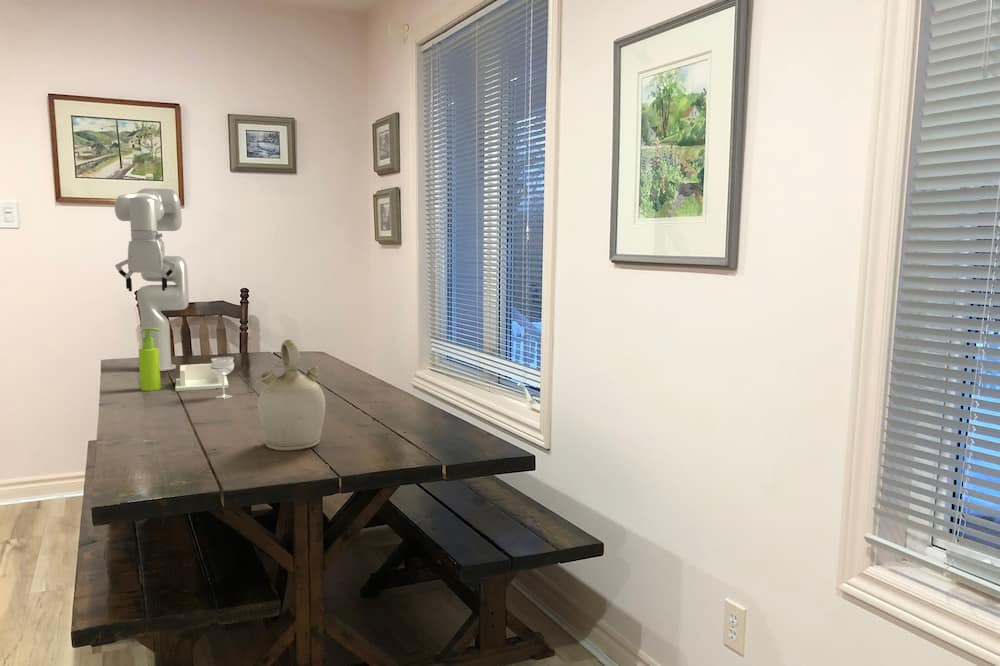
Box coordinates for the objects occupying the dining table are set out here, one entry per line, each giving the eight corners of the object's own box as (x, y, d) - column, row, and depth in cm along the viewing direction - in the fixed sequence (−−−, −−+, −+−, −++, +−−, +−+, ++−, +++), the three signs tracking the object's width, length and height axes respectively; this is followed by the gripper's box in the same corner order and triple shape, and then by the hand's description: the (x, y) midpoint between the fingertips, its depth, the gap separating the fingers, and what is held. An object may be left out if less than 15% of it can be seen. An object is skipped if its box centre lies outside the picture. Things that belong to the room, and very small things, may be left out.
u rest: (176, 381, 255) (175, 364, 254) (226, 378, 261) (225, 361, 260) (175, 391, 239) (174, 372, 238) (228, 387, 245) (227, 369, 244)
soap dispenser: (158, 391, 239) (155, 329, 237) (137, 390, 239) (133, 329, 237) (167, 387, 245) (164, 327, 242) (146, 387, 245) (143, 326, 242)
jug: (258, 455, 167) (254, 344, 164) (260, 438, 182) (256, 336, 179) (328, 450, 171) (325, 342, 168) (324, 434, 186) (322, 334, 183)
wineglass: (220, 400, 225) (218, 360, 224) (207, 397, 230) (206, 358, 228) (240, 396, 231) (238, 358, 229) (227, 393, 235) (225, 356, 233)
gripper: (174, 237, 242) (176, 289, 244) (114, 236, 236) (117, 290, 238) (173, 236, 235) (176, 291, 237) (112, 236, 229) (115, 292, 231)
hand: (147, 290), depth 238 cm, fingers open, 9 cm apart
